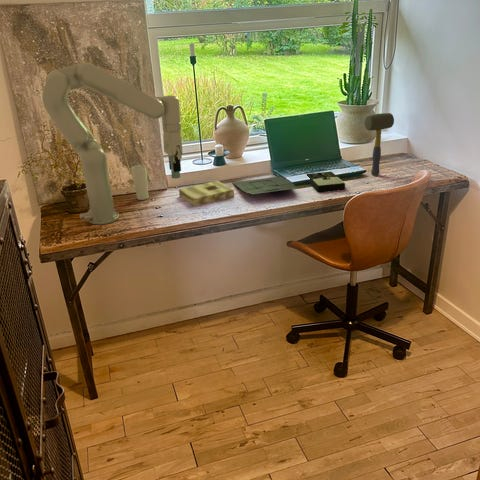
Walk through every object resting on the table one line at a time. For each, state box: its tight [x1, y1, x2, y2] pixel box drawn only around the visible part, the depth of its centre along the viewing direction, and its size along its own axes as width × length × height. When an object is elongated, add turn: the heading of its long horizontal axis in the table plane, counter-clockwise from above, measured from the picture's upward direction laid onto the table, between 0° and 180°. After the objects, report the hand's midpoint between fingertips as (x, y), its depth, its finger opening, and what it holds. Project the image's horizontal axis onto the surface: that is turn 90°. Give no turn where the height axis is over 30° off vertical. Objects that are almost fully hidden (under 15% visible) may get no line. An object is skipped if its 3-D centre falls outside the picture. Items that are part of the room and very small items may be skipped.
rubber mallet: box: [364, 112, 395, 177], centre depth 229 cm, size 12×8×30 cm, turn 108°
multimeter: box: [305, 171, 346, 194], centre depth 225 cm, size 13×19×5 cm
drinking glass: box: [130, 164, 150, 201], centre depth 217 cm, size 7×7×15 cm
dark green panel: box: [232, 176, 297, 195], centre depth 224 cm, size 24×30×4 cm
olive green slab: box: [178, 180, 235, 207], centre depth 218 cm, size 20×16×4 cm
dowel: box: [170, 154, 181, 179], centre depth 203 cm, size 4×4×12 cm
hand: (175, 169), depth 204 cm, fingers closed on dowel, 3 cm apart
